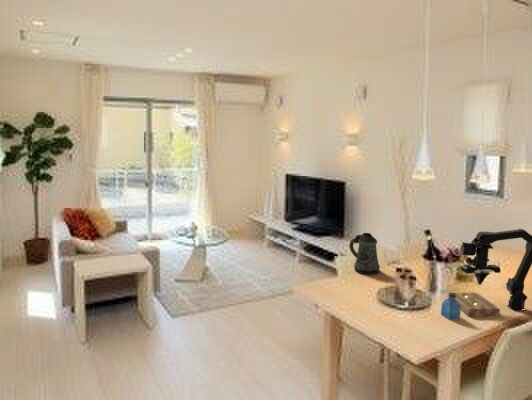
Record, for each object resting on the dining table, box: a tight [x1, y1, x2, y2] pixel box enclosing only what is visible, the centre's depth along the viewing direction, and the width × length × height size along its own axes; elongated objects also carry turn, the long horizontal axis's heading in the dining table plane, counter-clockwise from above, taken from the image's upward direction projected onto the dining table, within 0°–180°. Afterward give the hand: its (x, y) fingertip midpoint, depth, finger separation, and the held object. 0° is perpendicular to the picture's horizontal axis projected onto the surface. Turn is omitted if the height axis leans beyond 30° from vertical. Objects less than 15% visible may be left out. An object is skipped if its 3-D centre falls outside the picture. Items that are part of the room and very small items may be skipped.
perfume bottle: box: [440, 292, 462, 320], centre depth 217 cm, size 6×6×12 cm
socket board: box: [447, 292, 501, 318], centre depth 229 cm, size 16×22×4 cm
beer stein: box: [348, 232, 381, 276], centre depth 285 cm, size 16×19×25 cm
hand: (479, 284), depth 230 cm, fingers closed
